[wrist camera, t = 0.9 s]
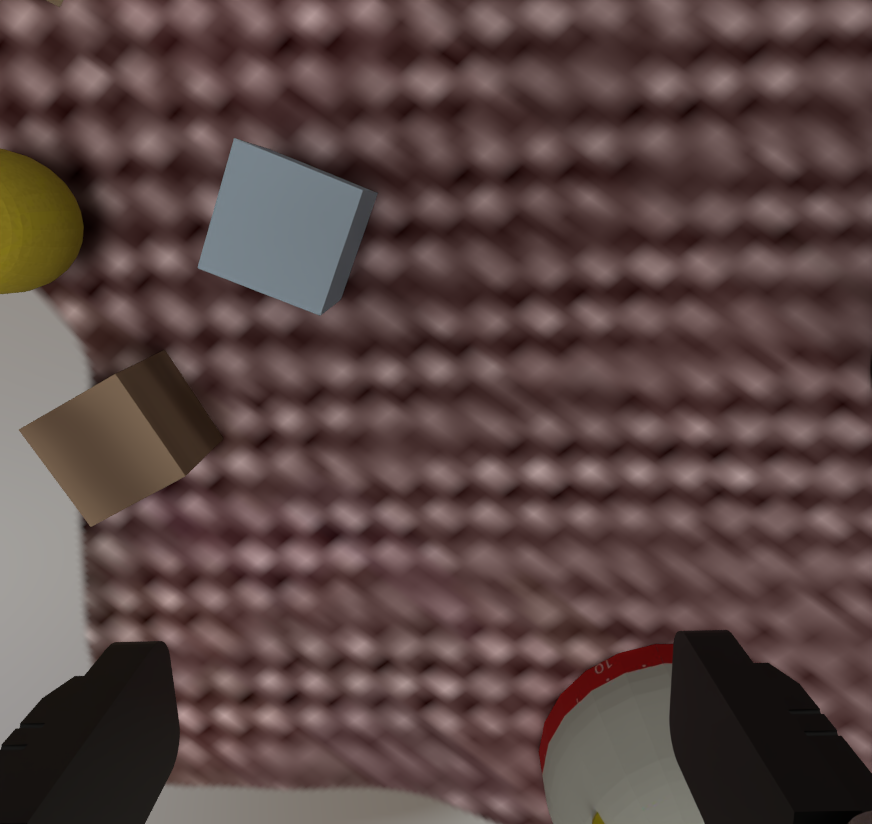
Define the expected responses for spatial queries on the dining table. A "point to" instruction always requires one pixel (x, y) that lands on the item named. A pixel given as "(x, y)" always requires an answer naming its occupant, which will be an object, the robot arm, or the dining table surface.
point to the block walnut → (124, 438)
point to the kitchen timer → (616, 746)
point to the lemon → (35, 224)
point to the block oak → (56, 2)
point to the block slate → (285, 228)
